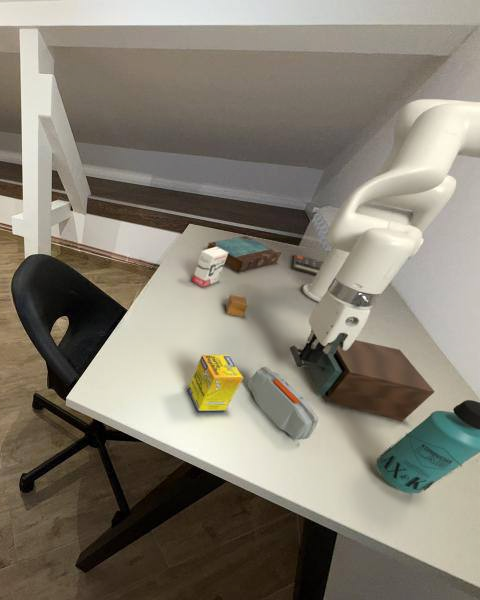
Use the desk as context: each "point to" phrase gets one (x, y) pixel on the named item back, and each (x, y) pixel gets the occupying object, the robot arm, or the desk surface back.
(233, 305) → the block
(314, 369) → the drawer
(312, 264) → the calculator
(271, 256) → the book
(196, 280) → the ink box
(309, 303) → the desk surface
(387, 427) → the desk surface
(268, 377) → the gray case
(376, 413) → the cabinet
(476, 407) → the beverage bottle
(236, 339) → the desk surface
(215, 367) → the supplement box
